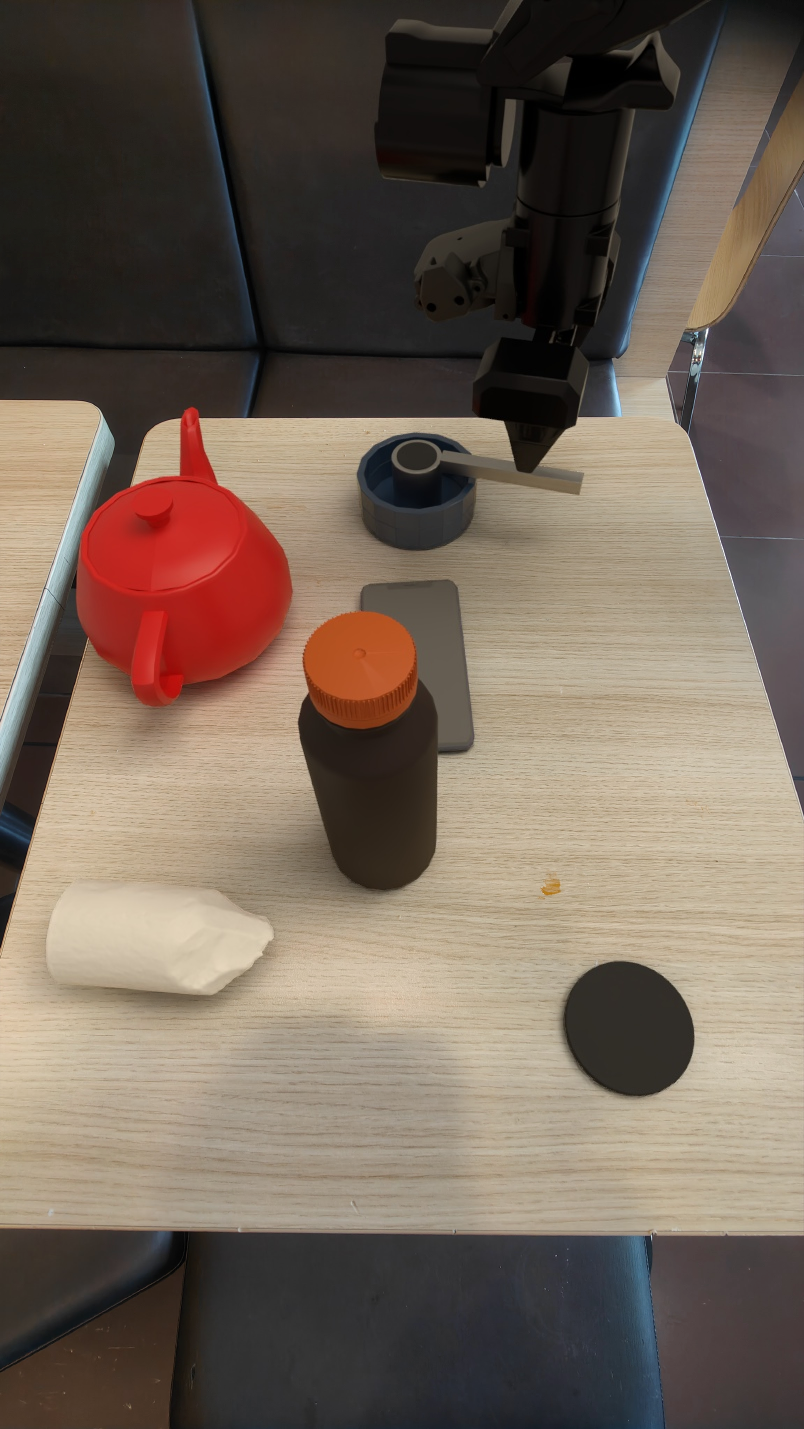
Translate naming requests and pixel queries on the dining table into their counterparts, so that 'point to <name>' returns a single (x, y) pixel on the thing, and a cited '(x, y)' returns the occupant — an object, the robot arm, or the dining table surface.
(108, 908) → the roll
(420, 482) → the scoop
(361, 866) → the bottle
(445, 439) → the bowl
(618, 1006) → the coaster
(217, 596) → the teapot
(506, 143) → the robot arm
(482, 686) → the dining table surface
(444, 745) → the smartphone
